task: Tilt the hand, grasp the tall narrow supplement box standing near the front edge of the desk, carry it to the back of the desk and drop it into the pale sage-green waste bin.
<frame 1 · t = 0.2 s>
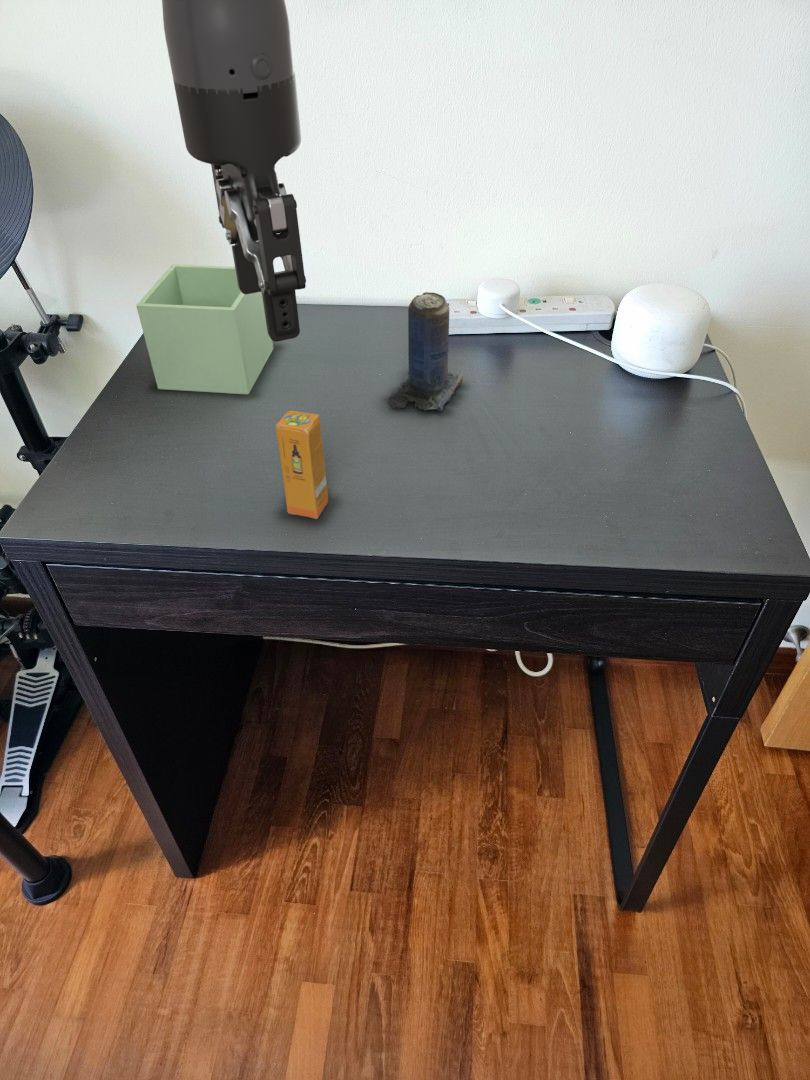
hand: (268, 313, 60), 22 cm above the table, tool pointing down, fingers open, 8 cm apart
trash bin: (217, 368, 97), on the table
supplement box: (309, 508, 77), on the table
beverage can: (426, 394, 92), on the table
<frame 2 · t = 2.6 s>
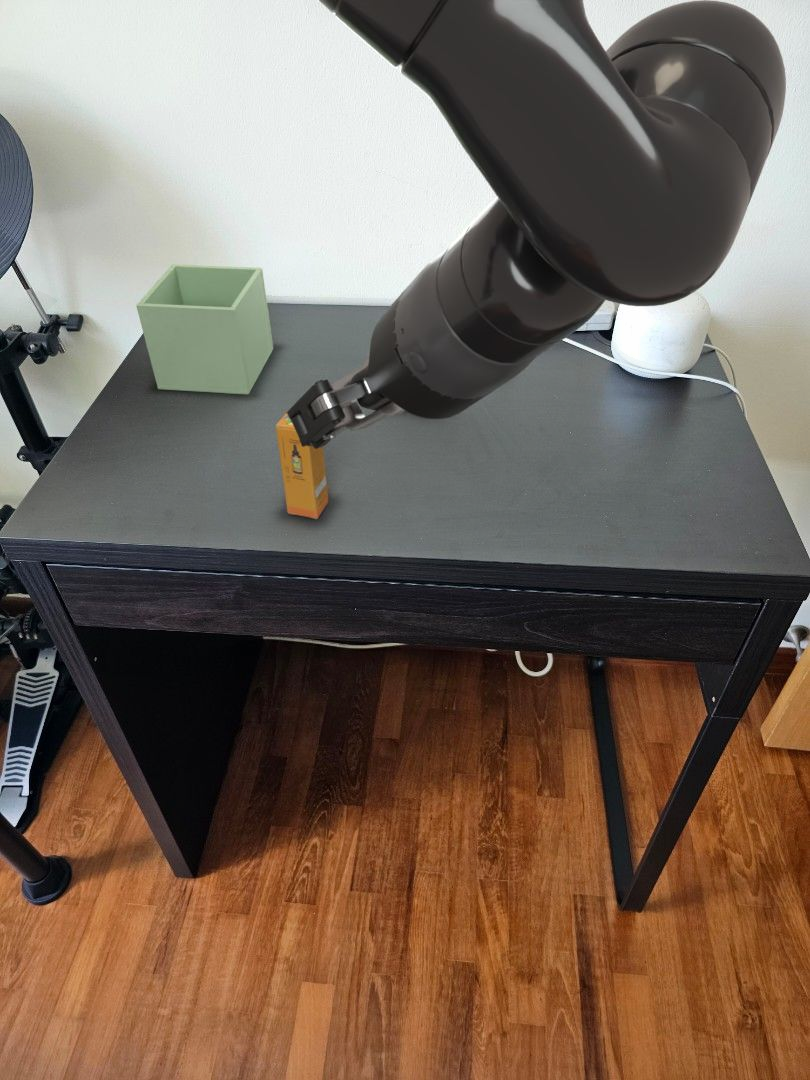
hand: (362, 415, 59), 17 cm above the table, tool tilted 45°, fingers open, 8 cm apart
nothing on the table moved.
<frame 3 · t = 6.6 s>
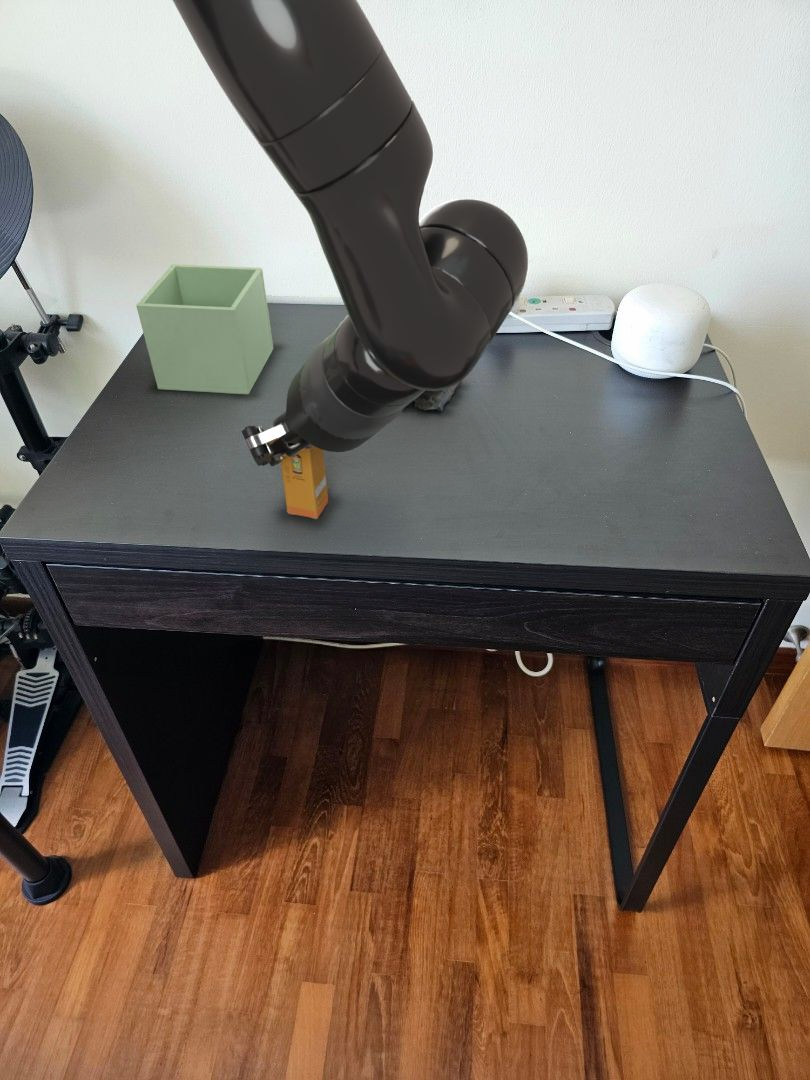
hand: (292, 446, 74), 6 cm above the table, tool tilted 45°, fingers closed on supplement box, 4 cm apart
supplement box: (309, 508, 77), on the table, touching gripper
everything else where it was.
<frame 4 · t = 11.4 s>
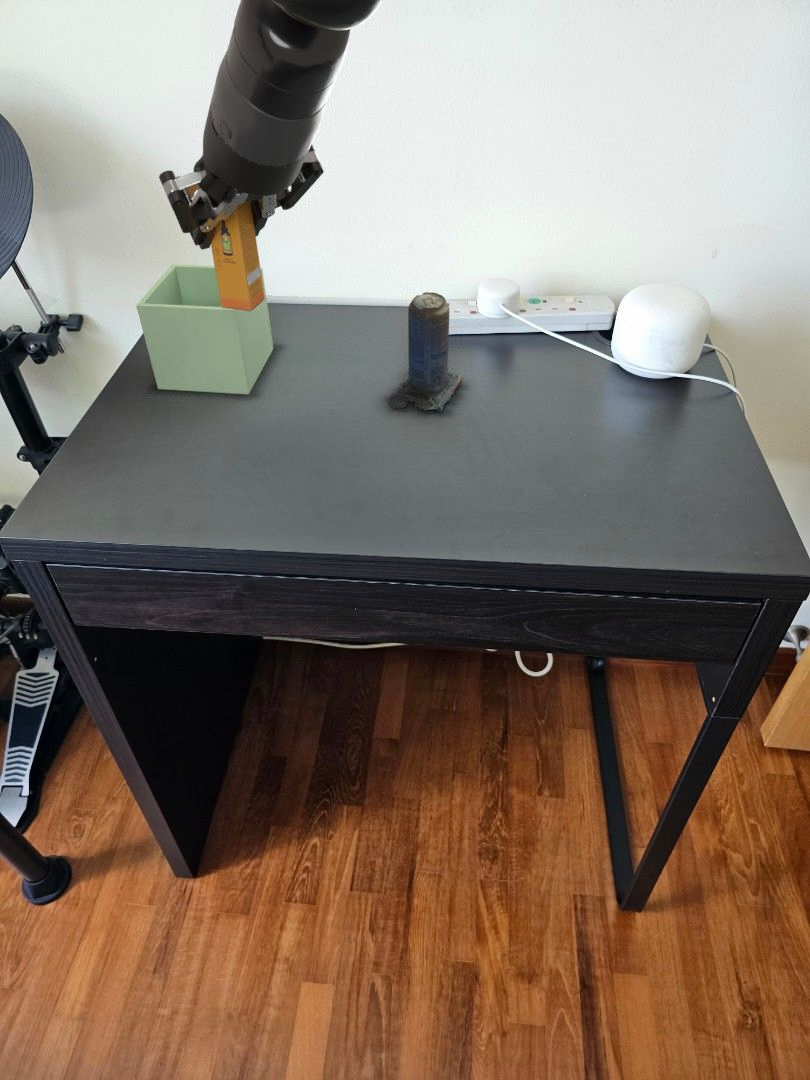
hand: (224, 233, 72), 22 cm above the table, tool tilted 45°, fingers closed on supplement box, 4 cm apart
supplement box: (244, 305, 75), point 16 cm above the table, touching gripper
everything else where it was.
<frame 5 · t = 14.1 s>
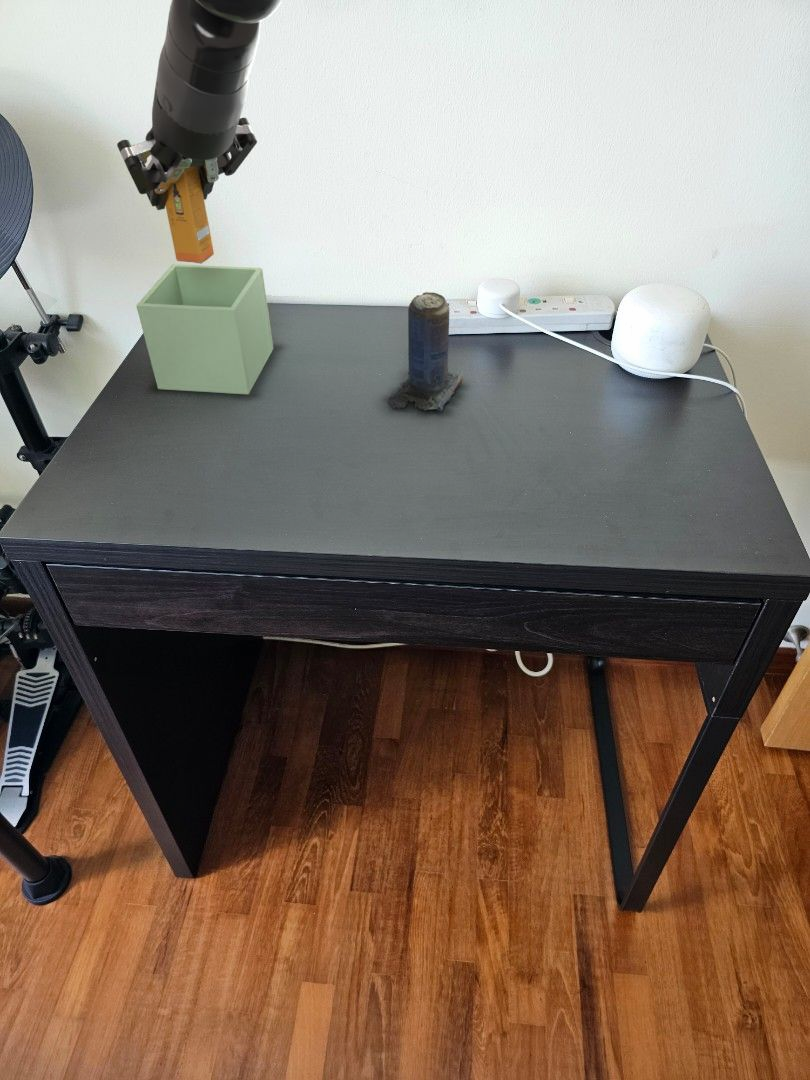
hand: (177, 196, 85), 20 cm above the table, tool tilted 45°, fingers closed on supplement box, 4 cm apart
supplement box: (196, 259, 88), point 14 cm above the table, touching gripper
everything else where it was.
when the fingers open (14 cm above the table, at t = 16.3 s): supplement box drops 6 cm, resting on trash bin.
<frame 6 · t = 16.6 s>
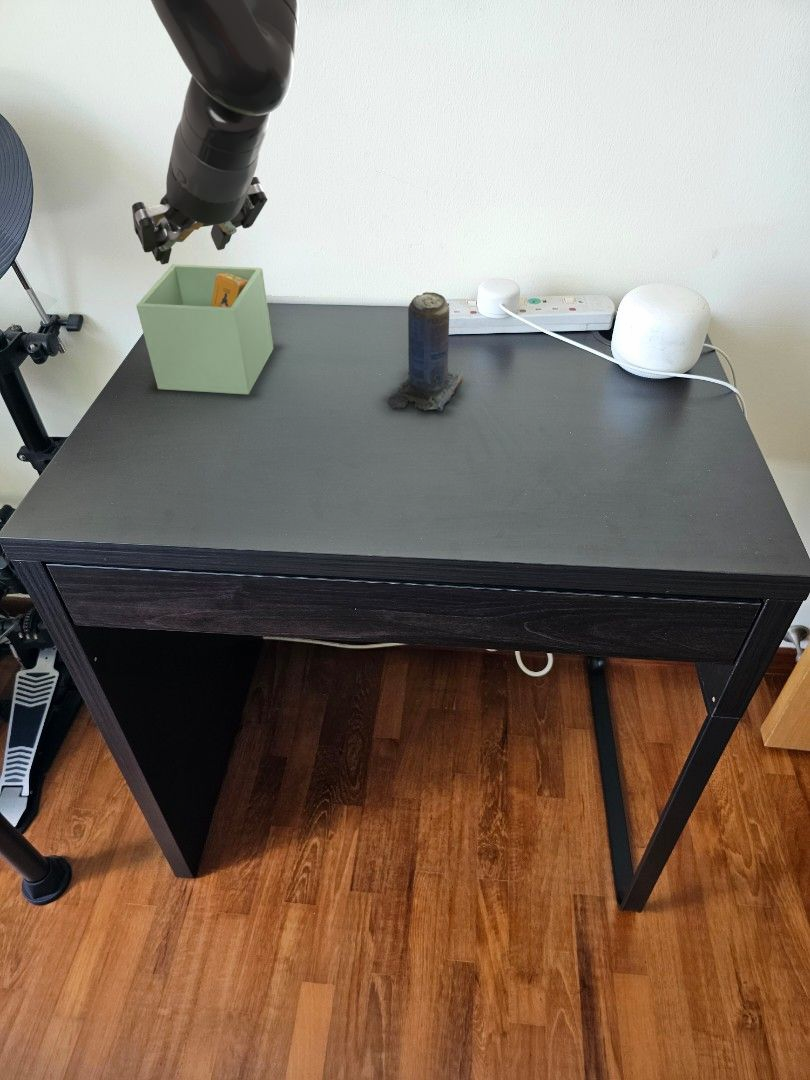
hand: (189, 249, 89), 14 cm above the table, tool tilted 45°, fingers open, 6 cm apart
supplement box: (219, 359, 97), point 1 cm above the table, touching trash bin
everything else where it was.
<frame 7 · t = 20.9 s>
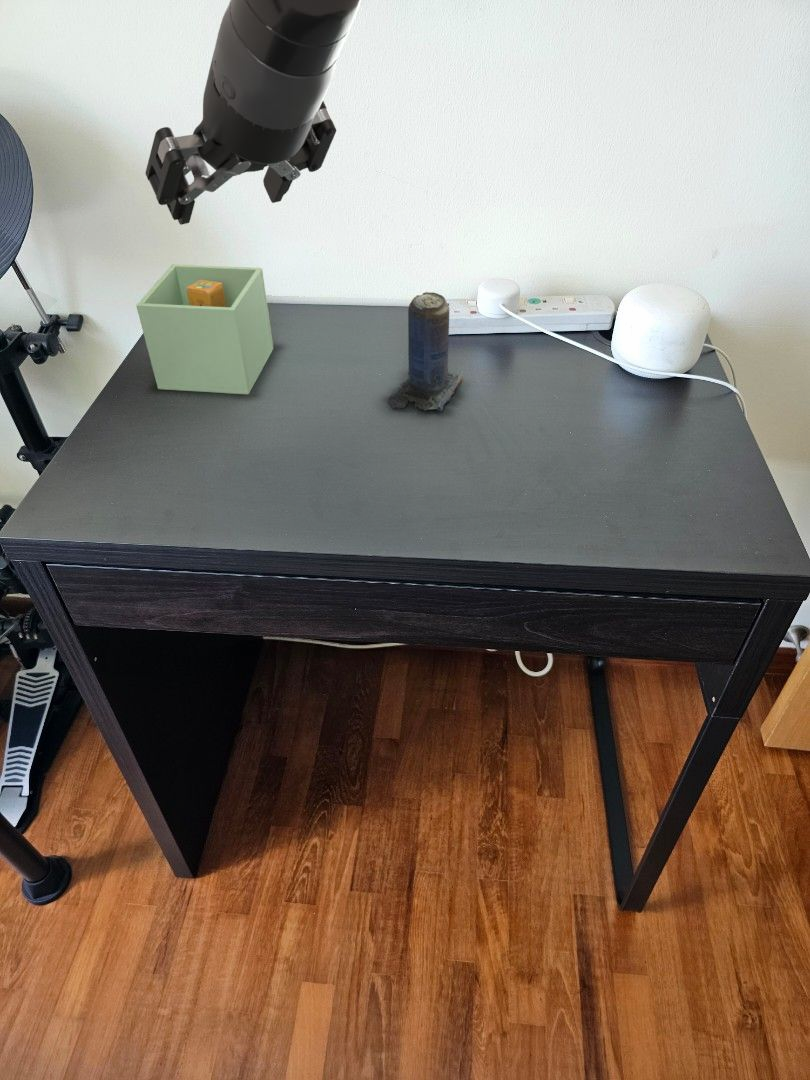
hand: (226, 203, 68), 25 cm above the table, tool tilted 45°, fingers open, 8 cm apart
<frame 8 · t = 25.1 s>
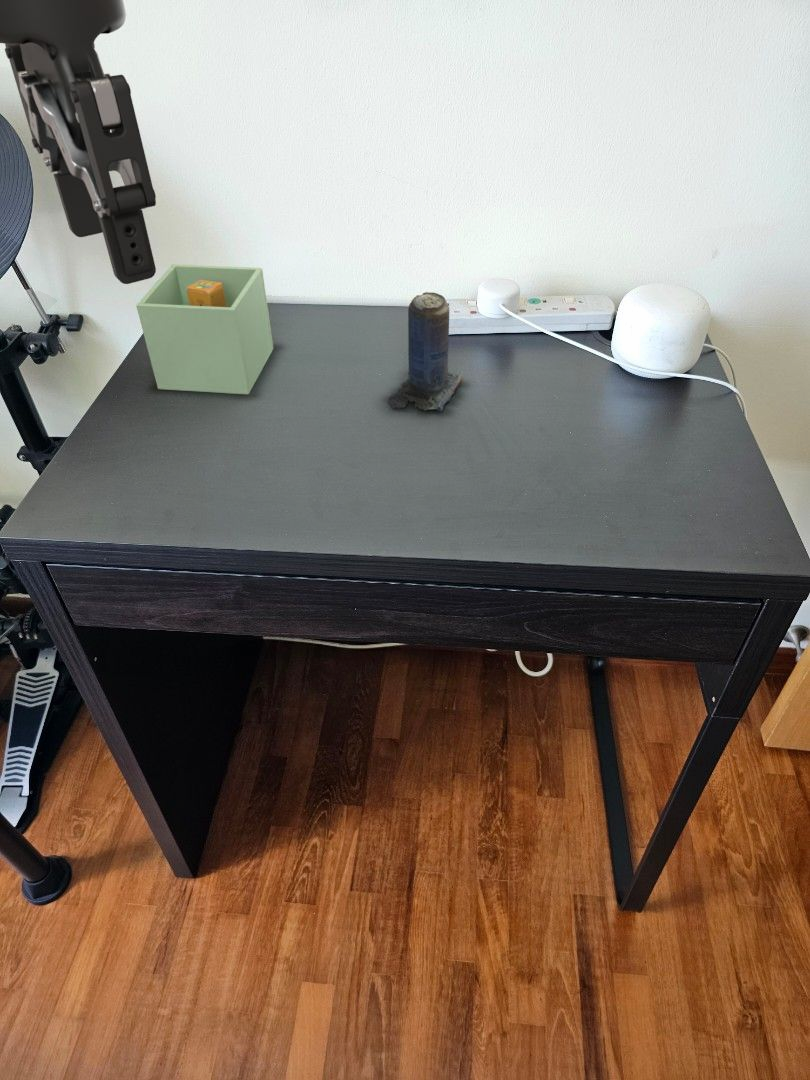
hand: (112, 255, 48), 30 cm above the table, tool pointing down, fingers open, 8 cm apart
at the end: supplement box inside the target area in the trash bin (0.3 cm from its centre), point 0.4 cm above the trash bin's base; the gripper is holding nothing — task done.
